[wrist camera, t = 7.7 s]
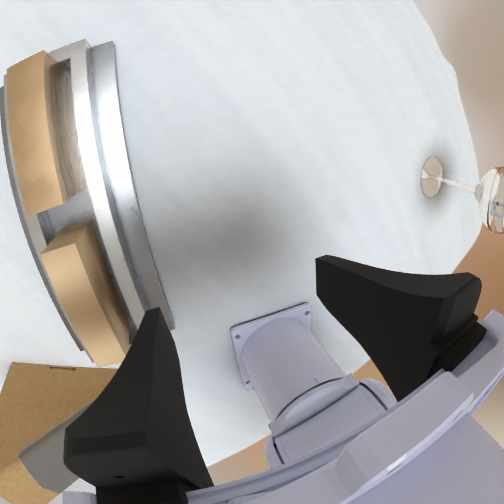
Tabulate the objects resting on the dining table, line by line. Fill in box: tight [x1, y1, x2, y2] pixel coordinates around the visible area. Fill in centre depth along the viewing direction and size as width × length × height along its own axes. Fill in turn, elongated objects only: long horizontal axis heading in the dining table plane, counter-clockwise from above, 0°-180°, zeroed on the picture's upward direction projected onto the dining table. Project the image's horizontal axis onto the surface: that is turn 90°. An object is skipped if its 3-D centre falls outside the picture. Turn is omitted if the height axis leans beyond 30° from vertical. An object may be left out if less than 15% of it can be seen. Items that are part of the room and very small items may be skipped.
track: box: [0, 39, 175, 362], centre depth 14 cm, size 22×9×5 cm, turn 7°
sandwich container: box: [0, 362, 118, 504], centre depth 15 cm, size 9×15×15 cm, turn 82°
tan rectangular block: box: [40, 219, 130, 367], centre depth 15 cm, size 8×2×4 cm, turn 7°
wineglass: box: [421, 157, 504, 234], centre depth 21 cm, size 7×7×12 cm
